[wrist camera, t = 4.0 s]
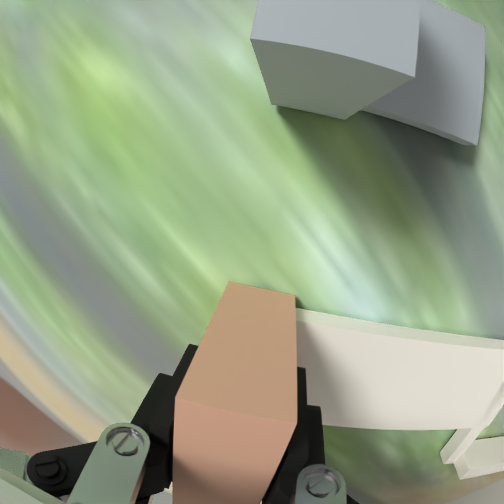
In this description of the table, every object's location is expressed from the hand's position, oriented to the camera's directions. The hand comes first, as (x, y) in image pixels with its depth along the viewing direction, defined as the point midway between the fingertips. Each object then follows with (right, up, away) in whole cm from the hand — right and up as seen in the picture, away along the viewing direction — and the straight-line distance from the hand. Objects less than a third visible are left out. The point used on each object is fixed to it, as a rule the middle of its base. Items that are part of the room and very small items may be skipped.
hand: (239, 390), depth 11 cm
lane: (+12, -2, +2) cm, 12 cm away
